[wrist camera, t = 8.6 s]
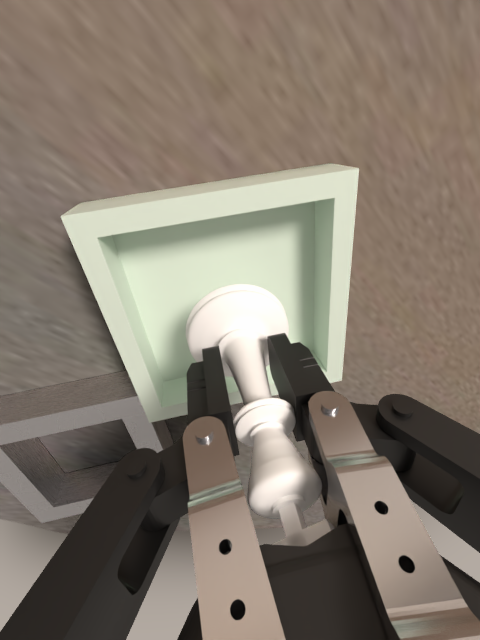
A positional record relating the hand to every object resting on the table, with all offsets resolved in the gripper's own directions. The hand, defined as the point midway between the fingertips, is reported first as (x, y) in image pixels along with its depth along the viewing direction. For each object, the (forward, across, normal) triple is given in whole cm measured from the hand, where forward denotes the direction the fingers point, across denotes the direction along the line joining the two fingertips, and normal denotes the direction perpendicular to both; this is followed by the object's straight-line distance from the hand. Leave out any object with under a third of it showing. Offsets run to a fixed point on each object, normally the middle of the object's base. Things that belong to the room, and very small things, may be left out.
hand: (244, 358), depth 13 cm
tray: (+6, 0, 0) cm, 6 cm away
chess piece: (+2, 0, 0) cm, 2 cm away
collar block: (+6, +11, +9) cm, 15 cm away
